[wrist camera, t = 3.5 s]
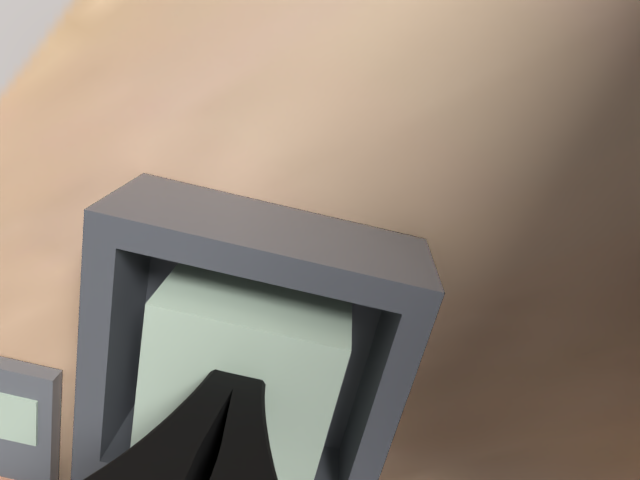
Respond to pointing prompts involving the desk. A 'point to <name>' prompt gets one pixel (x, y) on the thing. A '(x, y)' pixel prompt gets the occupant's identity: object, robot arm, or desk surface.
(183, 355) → the sage key
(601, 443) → the desk surface
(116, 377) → the grey divided tray
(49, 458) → the card
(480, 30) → the desk surface
